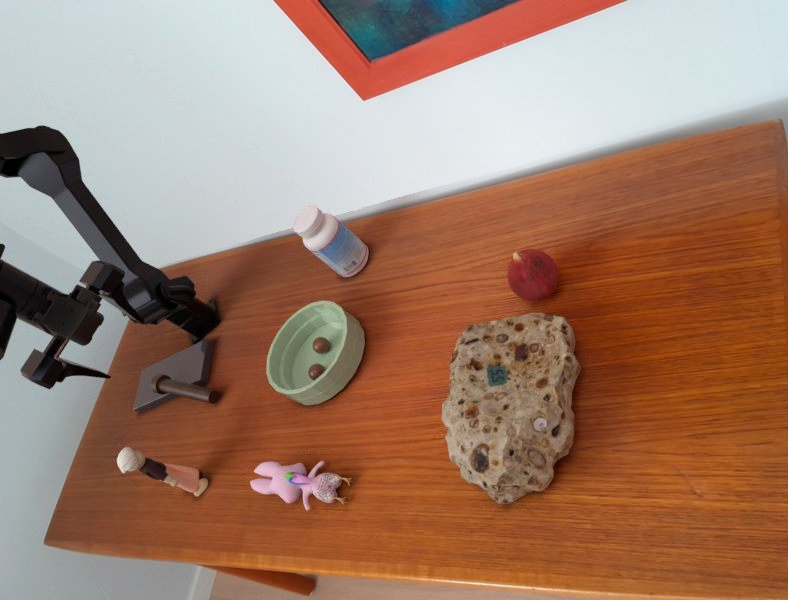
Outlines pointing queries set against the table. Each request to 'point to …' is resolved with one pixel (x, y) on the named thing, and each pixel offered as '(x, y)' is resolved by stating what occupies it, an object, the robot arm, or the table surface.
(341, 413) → the table surface
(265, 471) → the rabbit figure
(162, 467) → the grandmother figurine
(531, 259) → the onion
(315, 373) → the hazelnut
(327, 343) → the hazelnut
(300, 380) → the bowl
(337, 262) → the pill bottle
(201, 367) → the rest
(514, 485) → the rock
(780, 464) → the table surface
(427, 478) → the table surface
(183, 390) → the muddler
